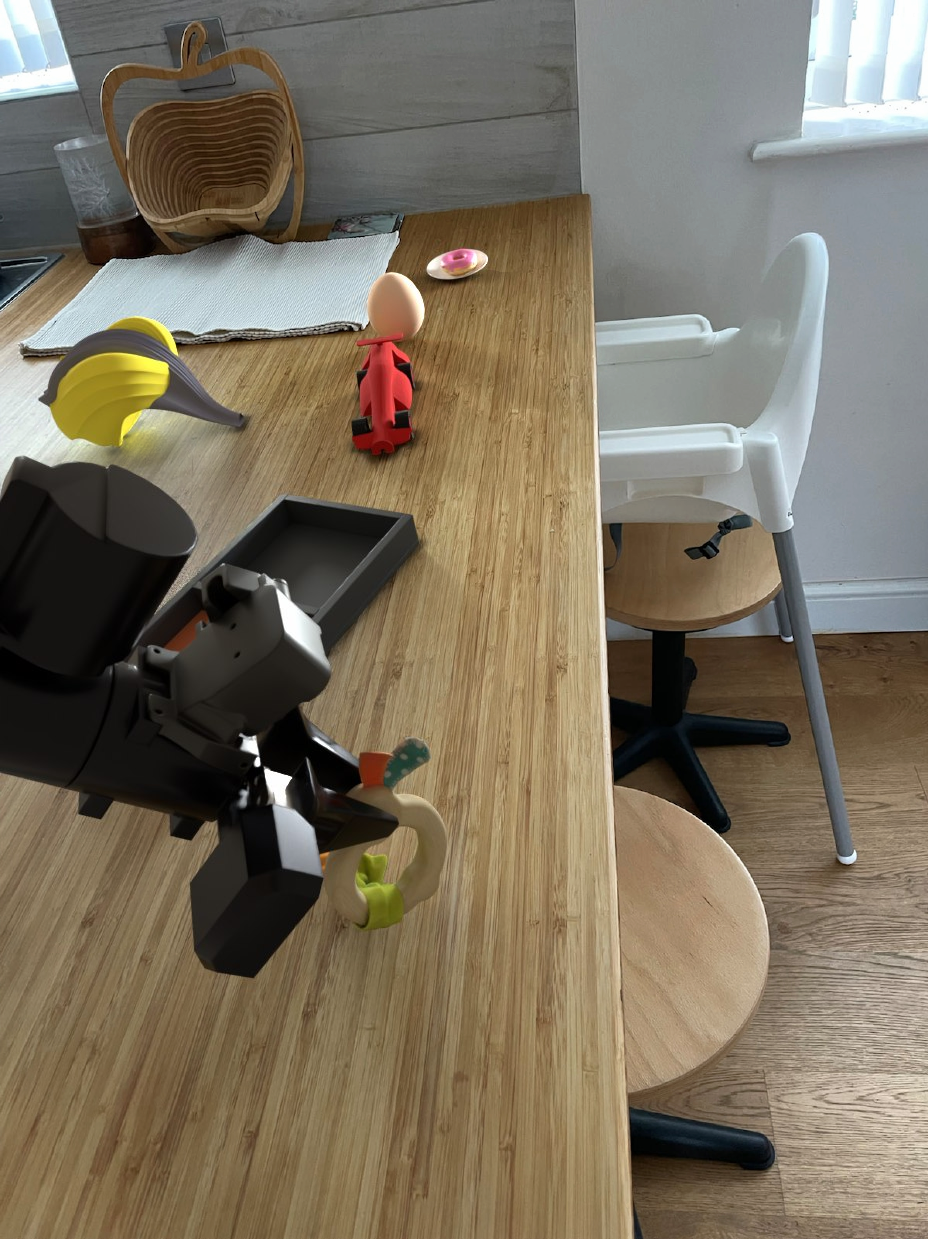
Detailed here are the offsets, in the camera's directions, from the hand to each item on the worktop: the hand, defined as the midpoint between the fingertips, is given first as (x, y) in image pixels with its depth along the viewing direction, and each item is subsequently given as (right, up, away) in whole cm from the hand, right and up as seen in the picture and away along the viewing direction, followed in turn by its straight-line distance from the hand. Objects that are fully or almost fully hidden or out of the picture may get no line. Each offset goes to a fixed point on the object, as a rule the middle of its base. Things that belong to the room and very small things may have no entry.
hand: (389, 809), depth 49 cm
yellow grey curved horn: (-30, +30, +57) cm, 71 cm away
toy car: (-4, +31, +51) cm, 60 cm away
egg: (-4, +43, +66) cm, 79 cm away
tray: (-12, +9, +27) cm, 31 cm away
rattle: (-1, -6, +5) cm, 8 cm away
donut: (+3, +57, +82) cm, 100 cm away
